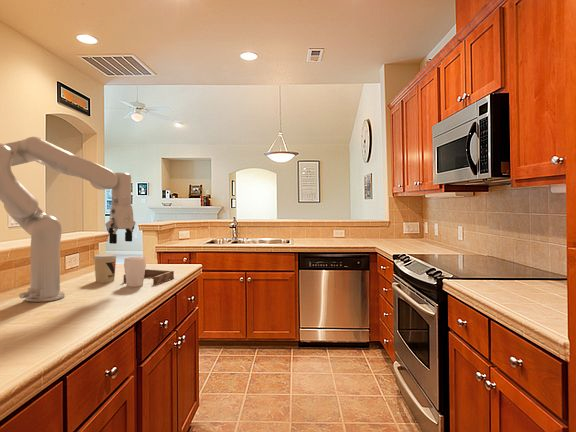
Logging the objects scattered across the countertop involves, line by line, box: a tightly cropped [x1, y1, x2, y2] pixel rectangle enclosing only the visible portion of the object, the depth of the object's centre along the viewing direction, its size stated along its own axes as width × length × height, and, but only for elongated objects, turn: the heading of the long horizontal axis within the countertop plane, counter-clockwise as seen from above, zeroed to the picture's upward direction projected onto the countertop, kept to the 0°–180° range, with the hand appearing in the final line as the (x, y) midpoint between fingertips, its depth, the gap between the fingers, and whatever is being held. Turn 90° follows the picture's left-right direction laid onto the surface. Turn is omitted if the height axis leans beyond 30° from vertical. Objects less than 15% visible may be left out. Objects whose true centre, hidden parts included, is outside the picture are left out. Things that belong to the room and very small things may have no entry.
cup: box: [123, 256, 147, 288], centre depth 175 cm, size 9×9×12 cm
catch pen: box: [123, 268, 175, 286], centre depth 187 cm, size 16×16×4 cm
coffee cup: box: [93, 253, 117, 284], centre depth 183 cm, size 9×9×12 cm
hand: (121, 242), depth 168 cm, fingers open, 9 cm apart
